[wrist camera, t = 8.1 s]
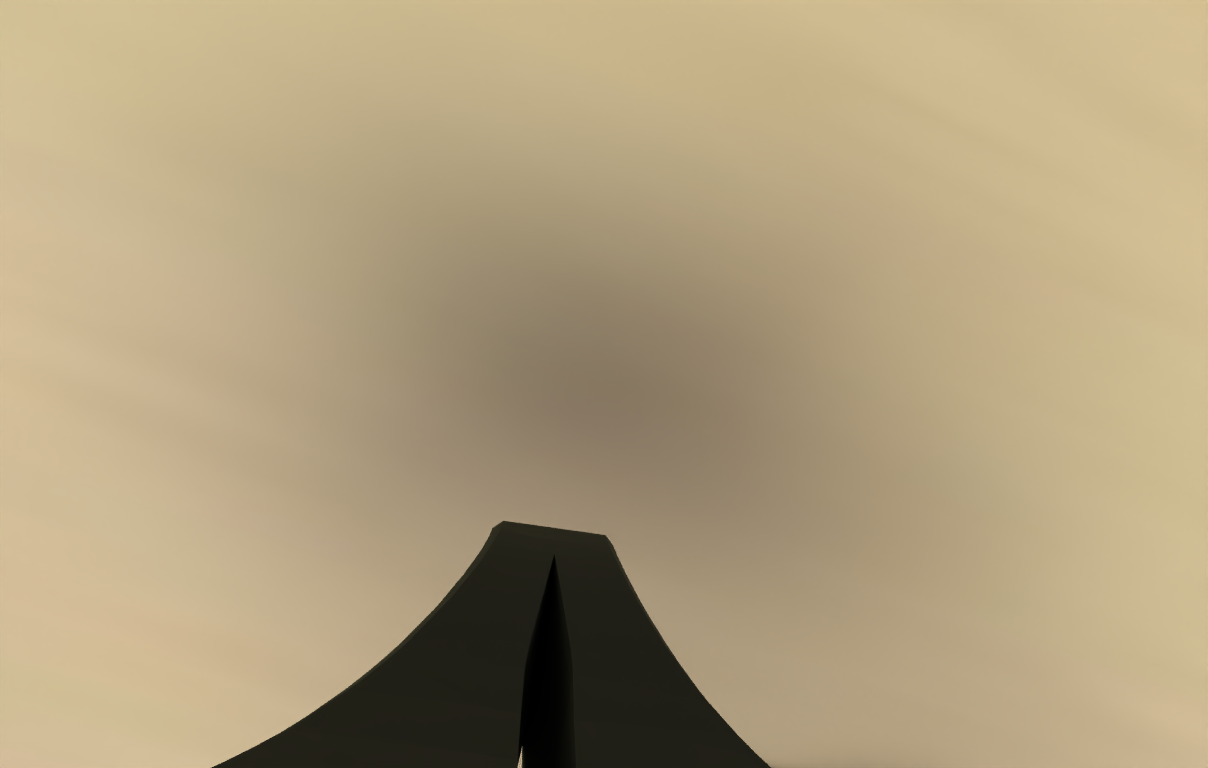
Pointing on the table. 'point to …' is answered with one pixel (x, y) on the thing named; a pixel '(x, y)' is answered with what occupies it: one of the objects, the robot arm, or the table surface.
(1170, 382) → the table surface
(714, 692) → the table surface
